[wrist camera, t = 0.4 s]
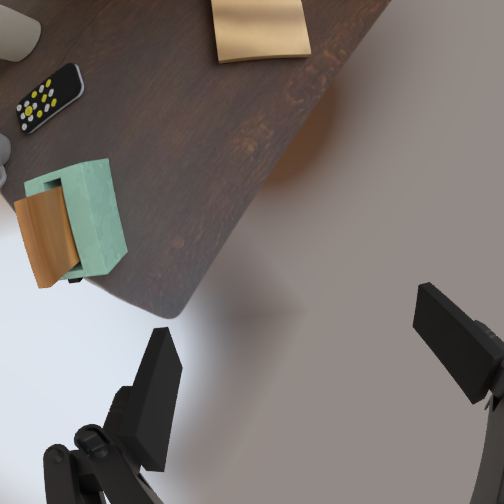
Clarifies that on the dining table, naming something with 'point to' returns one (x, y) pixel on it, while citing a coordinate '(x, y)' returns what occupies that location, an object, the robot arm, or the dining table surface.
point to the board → (259, 29)
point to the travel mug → (17, 34)
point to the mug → (4, 157)
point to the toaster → (88, 215)
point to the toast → (47, 235)
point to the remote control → (50, 97)
